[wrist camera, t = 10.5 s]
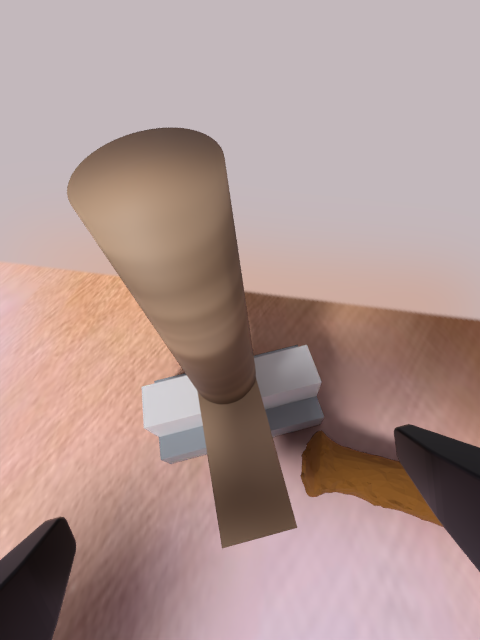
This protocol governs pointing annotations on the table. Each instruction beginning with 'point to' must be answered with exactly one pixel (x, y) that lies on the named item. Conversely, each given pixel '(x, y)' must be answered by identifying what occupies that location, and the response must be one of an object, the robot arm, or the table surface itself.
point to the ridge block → (275, 388)
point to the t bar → (191, 302)
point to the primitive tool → (361, 477)
